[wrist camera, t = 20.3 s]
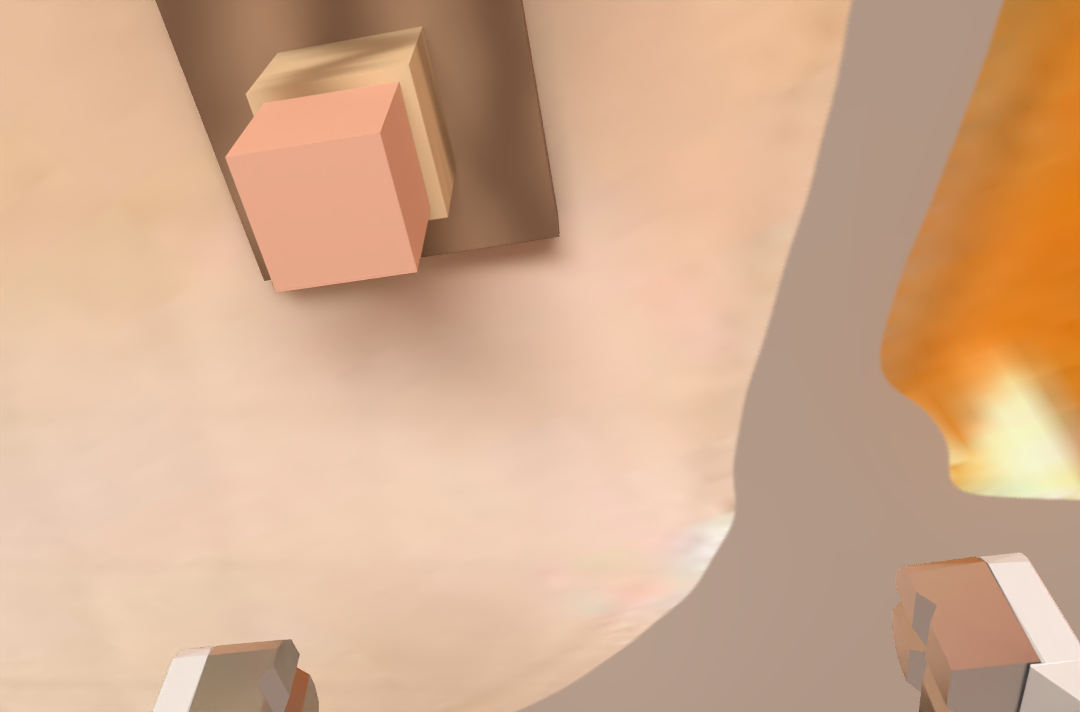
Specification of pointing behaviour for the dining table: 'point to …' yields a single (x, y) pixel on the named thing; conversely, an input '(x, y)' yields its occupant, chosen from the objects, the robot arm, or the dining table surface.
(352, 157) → the terracotta block
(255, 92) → the oak block
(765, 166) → the dining table surface
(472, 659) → the dining table surface
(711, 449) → the dining table surface
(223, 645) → the robot arm
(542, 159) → the base board
